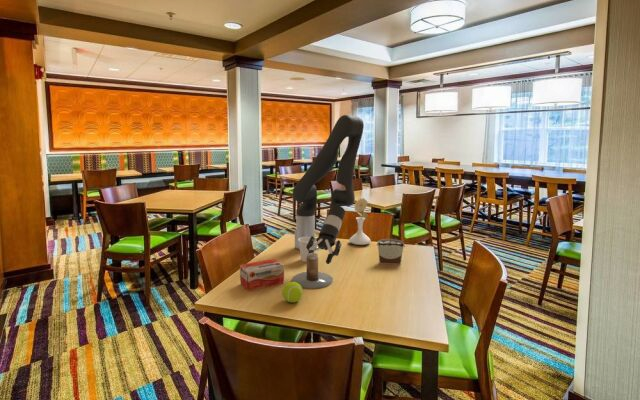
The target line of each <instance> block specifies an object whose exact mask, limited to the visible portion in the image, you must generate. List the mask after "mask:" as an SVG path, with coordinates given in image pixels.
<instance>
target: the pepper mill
mask: <svg viewBox="0 0 640 400" xmlns="http://www.w3.org/2000/svg"><path fill="white" fill-rule="evenodd" d="M306 272H307V280H309V281H316V280H318V272H319V257H318V253H316V252H314V253H309V254H307V262H306Z"/></svg>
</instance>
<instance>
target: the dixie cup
mask: <svg viewBox="0 0 640 400" xmlns="http://www.w3.org/2000/svg"><path fill="white" fill-rule="evenodd" d="M310 238H311V237H301V238H299V239H298V241H299V247H300V250H299V253H300V260H301V262H304V263H307V254H308V252H309V251H308V250H307V248H306V246H307V244H308V242H309V240H310ZM316 242H317V241H316ZM316 242H315V243H316ZM315 243H314V244H315ZM314 244H313V245H314Z"/></svg>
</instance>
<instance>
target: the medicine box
mask: <svg viewBox="0 0 640 400" xmlns="http://www.w3.org/2000/svg"><path fill="white" fill-rule="evenodd" d="M239 267H240V268H239V278H240V279H239V280H240V285H242V287H244V288H245V289H246V290H247V291H248V292H249V291H255V290H258V289H259V290H260V289H264V288H269V287H274V286H278V285H284V281H285V267H284V264H283V263H282V262H280V261H278V260H277V259H276V258H271V259H266V260H260V261H254V262H249V263H244V264H243V263H242V264H240V266H239Z"/></svg>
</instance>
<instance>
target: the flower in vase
mask: <svg viewBox="0 0 640 400" xmlns="http://www.w3.org/2000/svg"><path fill="white" fill-rule="evenodd" d="M367 207H368V201H367V199H365V198H364V197H362V198H360V199H359V198H358V199H357V200H356V202H354V210H355V212H356V213H357V214H358V215H359V217H357V216H356V217H355V220H356V221H357V232H356V233H355V234H353V235H352V236H350V238H349V240H348V241H349V243H351V244H353V245H357V246H363V245H368V244H370V243H371V242H372V241H371V239H370V237H369V236H367V235H366V233H364V230H363V225H364V221H365V220H366V218H368V217H369V216H368V214H367V212H365V209H367ZM360 212H363V213H360Z"/></svg>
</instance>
